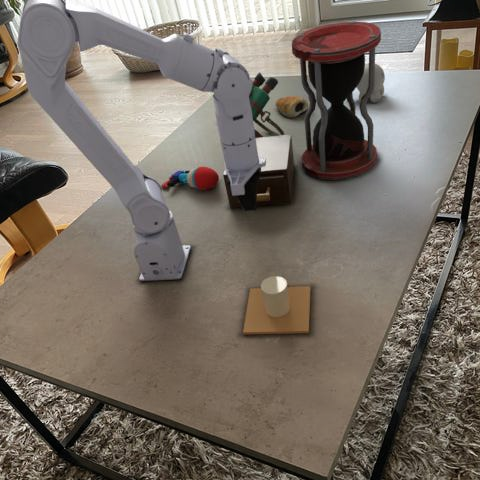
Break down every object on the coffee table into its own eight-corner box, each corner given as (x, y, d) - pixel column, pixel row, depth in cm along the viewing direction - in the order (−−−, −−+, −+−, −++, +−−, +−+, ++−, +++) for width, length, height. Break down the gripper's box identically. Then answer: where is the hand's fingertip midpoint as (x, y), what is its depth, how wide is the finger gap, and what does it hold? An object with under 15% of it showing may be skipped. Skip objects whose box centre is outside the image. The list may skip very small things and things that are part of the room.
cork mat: (308, 333, 73) (308, 331, 72) (243, 334, 75) (242, 332, 74) (310, 288, 79) (310, 285, 79) (250, 290, 82) (250, 288, 81)
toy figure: (161, 195, 112) (210, 196, 103) (154, 175, 109) (203, 174, 100) (182, 181, 116) (231, 181, 107) (175, 161, 114) (224, 159, 105)
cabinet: (290, 203, 98) (286, 169, 93) (230, 208, 101) (222, 174, 95) (294, 166, 108) (291, 134, 103) (239, 172, 111) (233, 140, 105)
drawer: (285, 214, 94) (282, 187, 90) (228, 218, 96) (222, 192, 92) (290, 168, 106) (288, 143, 102) (239, 173, 108) (235, 148, 104)
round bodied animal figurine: (343, 92, 132) (342, 58, 126) (387, 93, 126) (389, 58, 120) (333, 103, 128) (332, 69, 122) (379, 105, 122) (380, 69, 116)
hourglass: (322, 139, 115) (316, 20, 97) (388, 148, 107) (395, 20, 89) (288, 174, 106) (275, 50, 89) (357, 186, 98) (357, 52, 81)
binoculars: (243, 147, 126) (207, 108, 115) (278, 103, 124) (244, 59, 113) (273, 166, 116) (236, 125, 106) (311, 118, 114) (278, 72, 104)
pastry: (270, 110, 131) (268, 96, 129) (289, 101, 133) (288, 87, 131) (291, 119, 125) (290, 104, 123) (311, 110, 127) (310, 95, 125)
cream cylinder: (288, 317, 75) (285, 293, 71) (263, 317, 76) (258, 293, 72) (291, 299, 78) (288, 275, 74) (266, 299, 79) (262, 276, 75)
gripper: (257, 156, 73) (268, 230, 83) (266, 115, 83) (274, 186, 93) (212, 161, 75) (228, 233, 84) (226, 120, 85) (238, 189, 94)
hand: (250, 208), depth 89 cm, fingers closed
